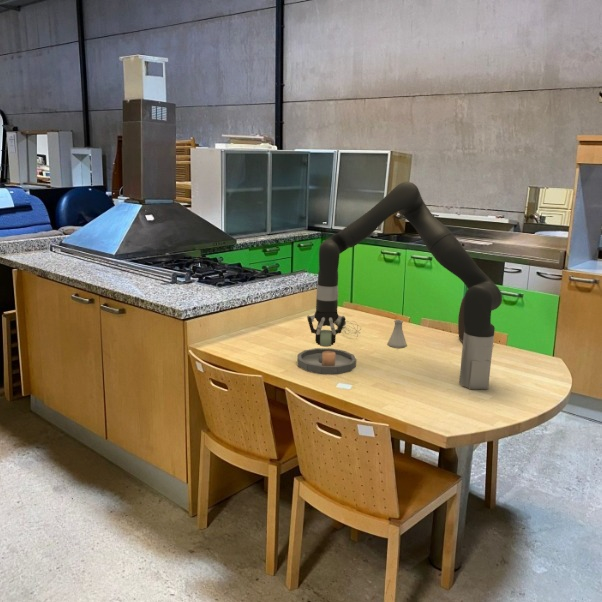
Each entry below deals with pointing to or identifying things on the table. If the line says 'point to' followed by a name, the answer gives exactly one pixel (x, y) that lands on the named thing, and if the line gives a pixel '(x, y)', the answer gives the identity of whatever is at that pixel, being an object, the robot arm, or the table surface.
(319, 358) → the ring tray
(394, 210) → the robot arm
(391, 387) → the table surface
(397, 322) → the flask
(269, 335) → the table surface
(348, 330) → the kitchen whisk
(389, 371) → the table surface
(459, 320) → the small grey backpack
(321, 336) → the pale green rounded cylinder
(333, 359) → the terracotta bead
